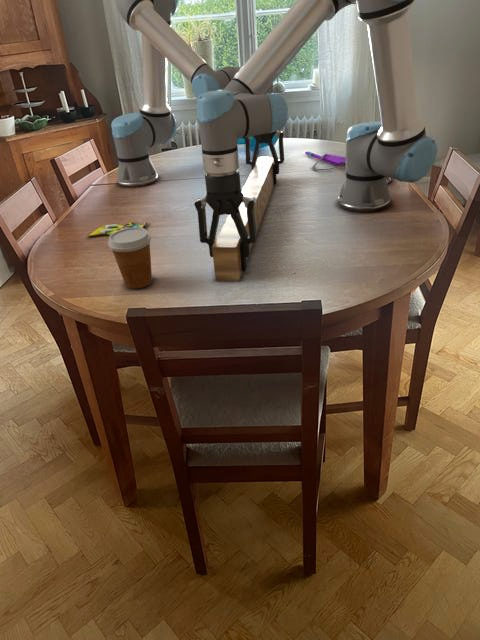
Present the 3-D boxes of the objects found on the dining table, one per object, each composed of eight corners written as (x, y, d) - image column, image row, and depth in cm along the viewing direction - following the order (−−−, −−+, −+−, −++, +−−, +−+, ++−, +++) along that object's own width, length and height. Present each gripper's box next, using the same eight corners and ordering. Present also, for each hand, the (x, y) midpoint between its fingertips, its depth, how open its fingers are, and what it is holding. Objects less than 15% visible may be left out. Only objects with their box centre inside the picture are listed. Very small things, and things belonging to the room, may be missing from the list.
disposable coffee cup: (110, 289, 111) (98, 241, 105) (132, 270, 119) (122, 225, 112) (145, 294, 108) (135, 245, 101) (166, 275, 115) (157, 228, 109)
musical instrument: (342, 175, 173) (362, 153, 185) (341, 169, 172) (361, 148, 184) (283, 174, 186) (305, 153, 198) (282, 169, 184) (305, 148, 196)
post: (260, 180, 173) (259, 156, 168) (275, 180, 172) (274, 156, 167) (215, 280, 111) (211, 247, 107) (239, 280, 110) (236, 247, 106)
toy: (137, 233, 137) (87, 234, 139) (137, 236, 137) (88, 237, 139) (147, 220, 145) (100, 221, 147) (147, 223, 146) (101, 224, 148)
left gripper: (232, 116, 154) (238, 187, 166) (290, 113, 150) (291, 186, 163) (236, 112, 160) (242, 181, 173) (292, 109, 157) (293, 179, 169)
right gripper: (175, 177, 101) (189, 275, 113) (262, 175, 97) (267, 276, 110) (184, 167, 107) (197, 261, 120) (267, 165, 104) (271, 262, 116)
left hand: (266, 183), depth 168 cm, fingers closed on post, 6 cm apart
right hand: (231, 268), depth 115 cm, fingers closed on post, 6 cm apart
